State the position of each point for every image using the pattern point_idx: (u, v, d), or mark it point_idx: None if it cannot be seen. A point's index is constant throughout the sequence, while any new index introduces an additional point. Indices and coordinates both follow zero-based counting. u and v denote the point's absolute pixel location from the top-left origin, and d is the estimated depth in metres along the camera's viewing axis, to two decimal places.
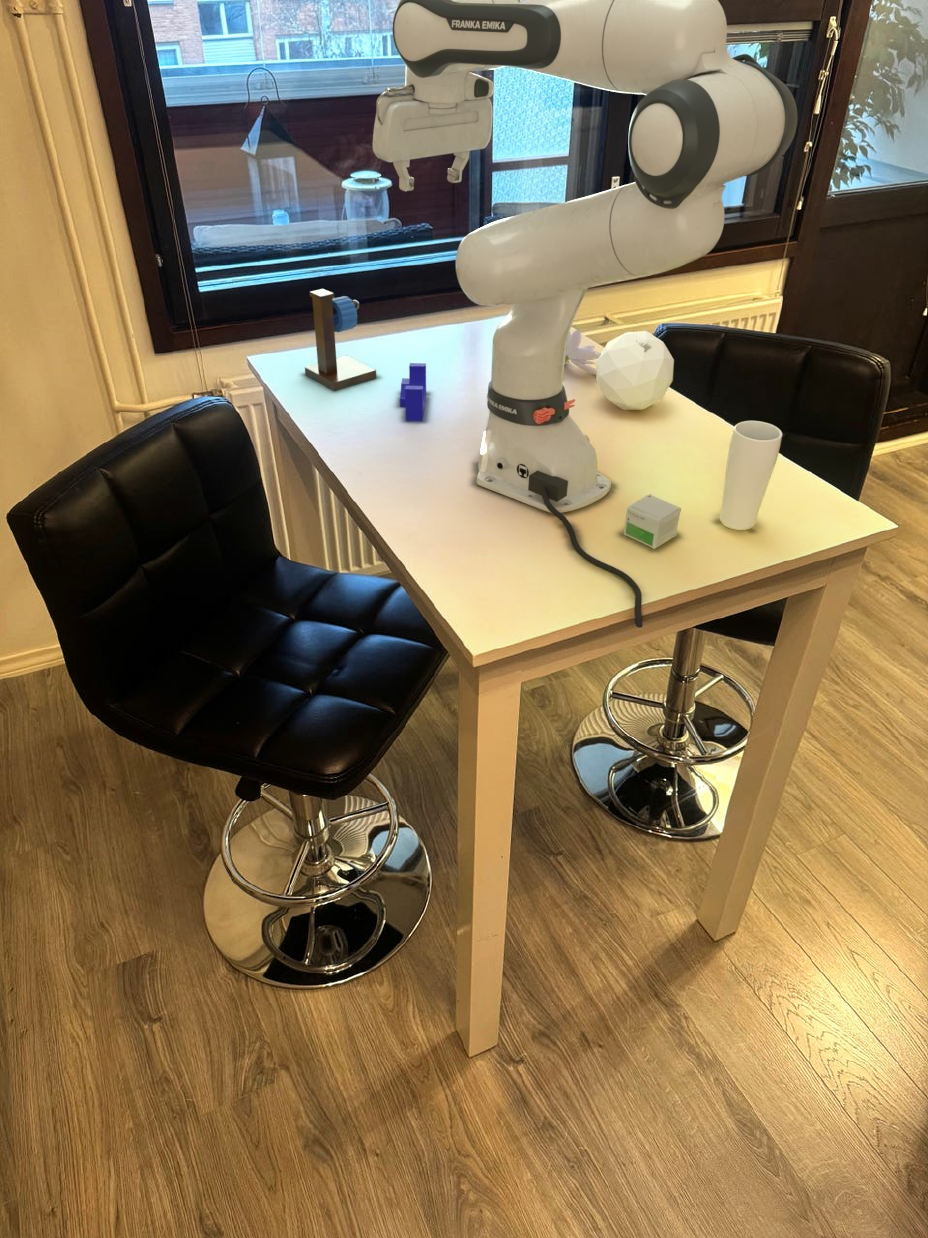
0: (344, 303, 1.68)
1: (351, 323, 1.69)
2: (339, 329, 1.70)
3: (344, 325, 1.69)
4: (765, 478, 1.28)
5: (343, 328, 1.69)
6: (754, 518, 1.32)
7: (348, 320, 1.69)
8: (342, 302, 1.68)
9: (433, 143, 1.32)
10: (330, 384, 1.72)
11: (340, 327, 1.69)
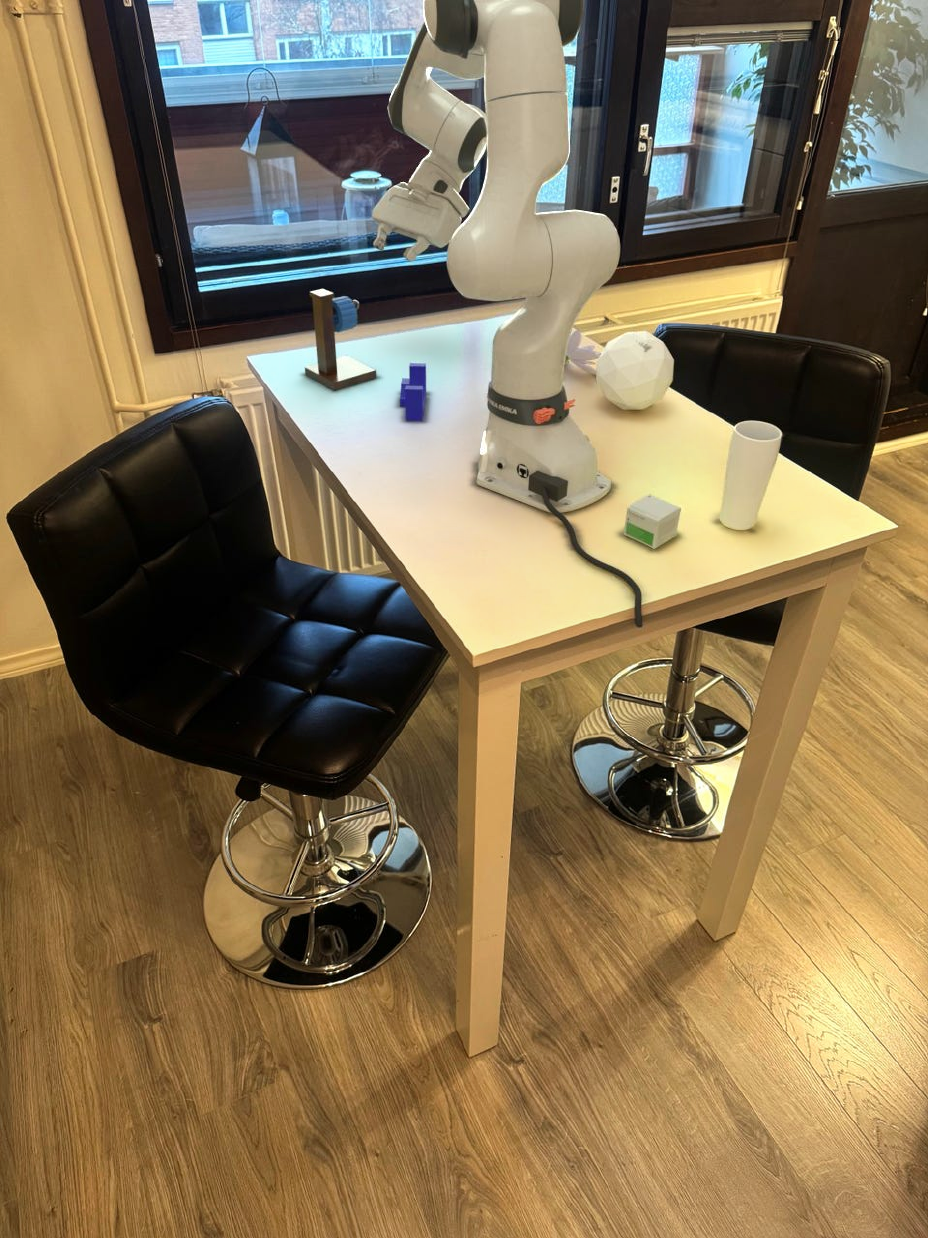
0: (344, 303, 1.68)
1: (351, 323, 1.69)
2: (339, 329, 1.70)
3: (344, 325, 1.69)
4: (765, 478, 1.28)
5: (343, 328, 1.69)
6: (754, 518, 1.32)
7: (348, 320, 1.69)
8: (342, 302, 1.68)
9: (400, 216, 1.70)
10: (330, 384, 1.72)
11: (340, 327, 1.69)
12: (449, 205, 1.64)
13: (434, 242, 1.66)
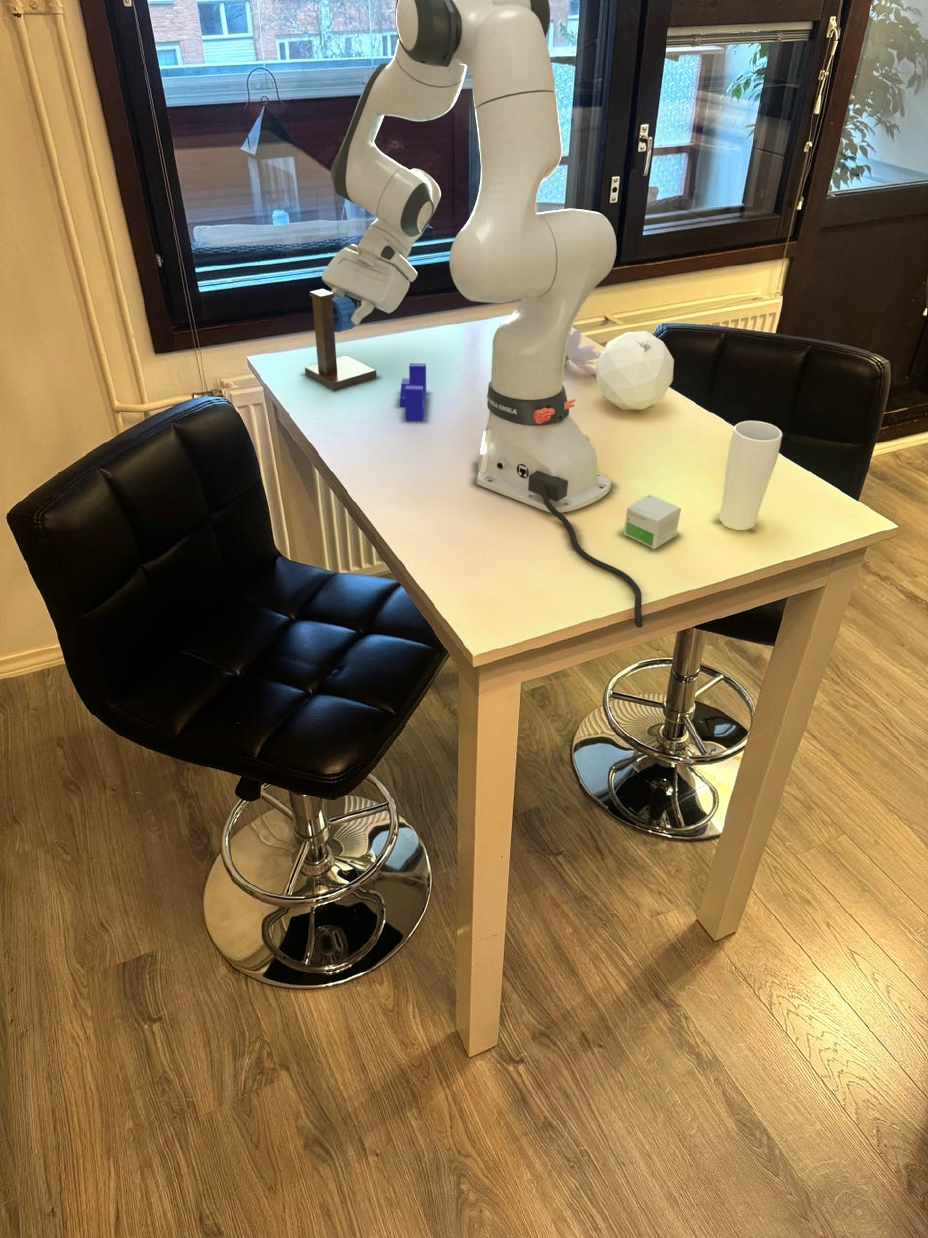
0: (344, 303, 1.68)
1: (351, 323, 1.69)
2: (339, 329, 1.70)
3: (344, 325, 1.69)
4: (765, 478, 1.28)
5: (343, 328, 1.69)
6: (754, 518, 1.32)
7: (348, 320, 1.69)
8: (342, 302, 1.68)
9: (349, 280, 1.70)
10: (330, 384, 1.72)
11: (340, 327, 1.69)
12: (396, 271, 1.63)
13: (382, 308, 1.65)
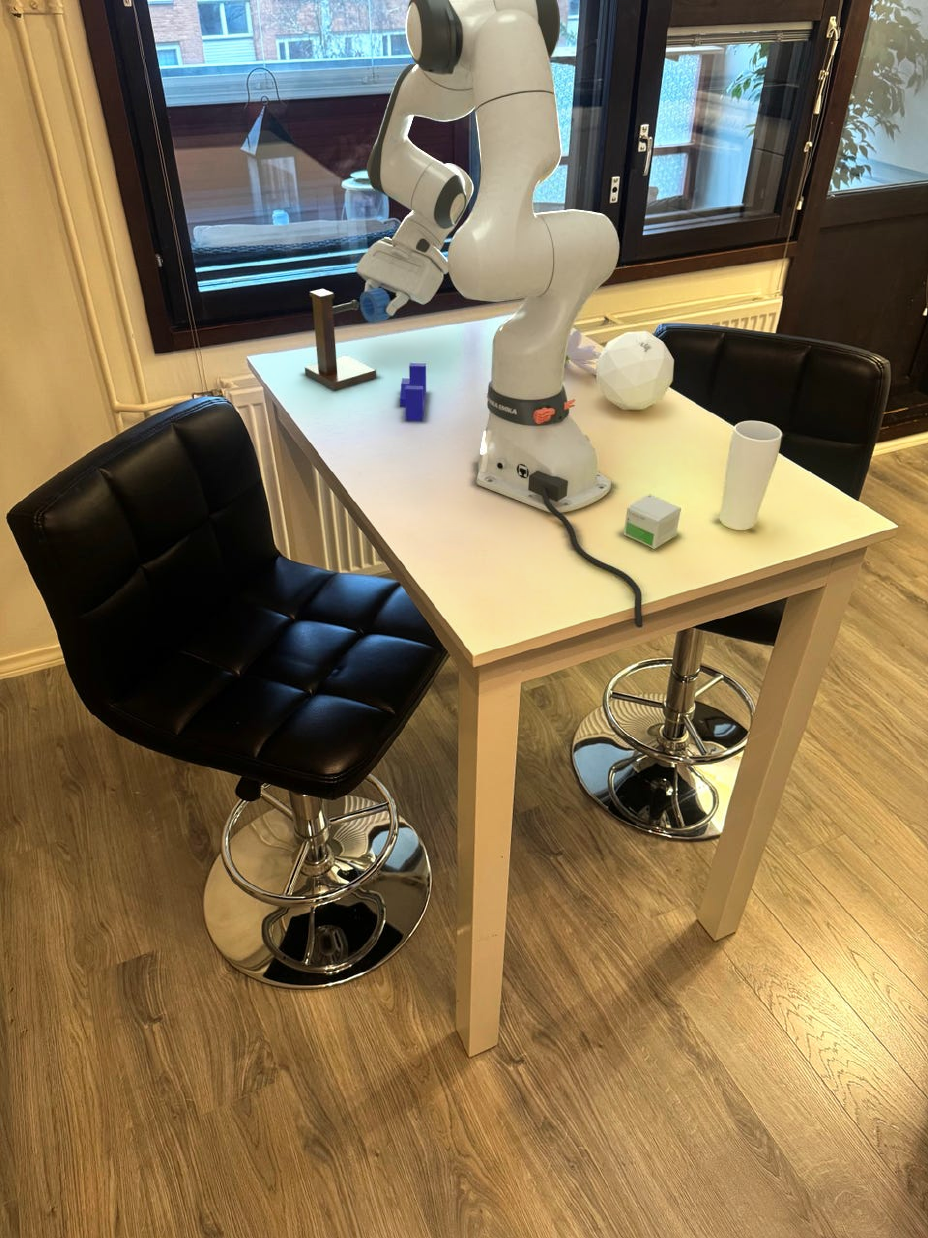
0: (379, 294, 1.72)
1: (386, 314, 1.74)
2: (374, 320, 1.74)
3: (379, 316, 1.73)
4: (765, 478, 1.28)
5: (378, 319, 1.74)
6: (754, 518, 1.32)
7: (383, 311, 1.73)
8: (378, 294, 1.72)
9: (384, 272, 1.74)
10: (330, 384, 1.72)
11: (375, 318, 1.74)
12: (431, 264, 1.68)
13: (416, 299, 1.70)
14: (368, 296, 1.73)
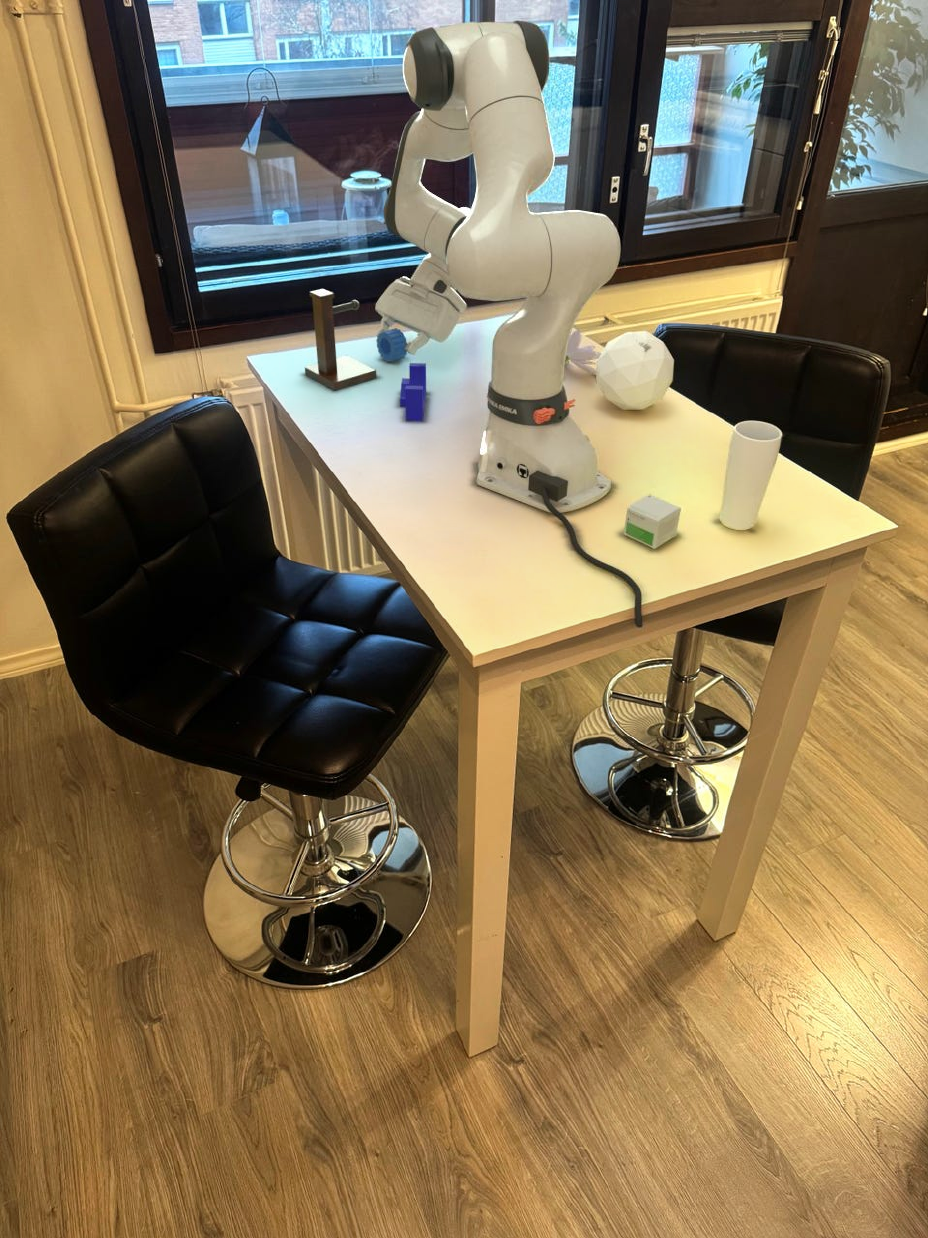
0: (394, 333, 1.80)
1: (402, 350, 1.81)
2: (392, 357, 1.82)
3: (396, 353, 1.81)
4: (765, 478, 1.28)
5: (395, 356, 1.81)
6: (754, 518, 1.32)
7: (399, 348, 1.81)
8: (392, 332, 1.80)
9: (402, 311, 1.81)
10: (330, 384, 1.72)
11: (392, 355, 1.81)
12: (448, 304, 1.75)
13: (434, 338, 1.77)
14: (384, 336, 1.81)
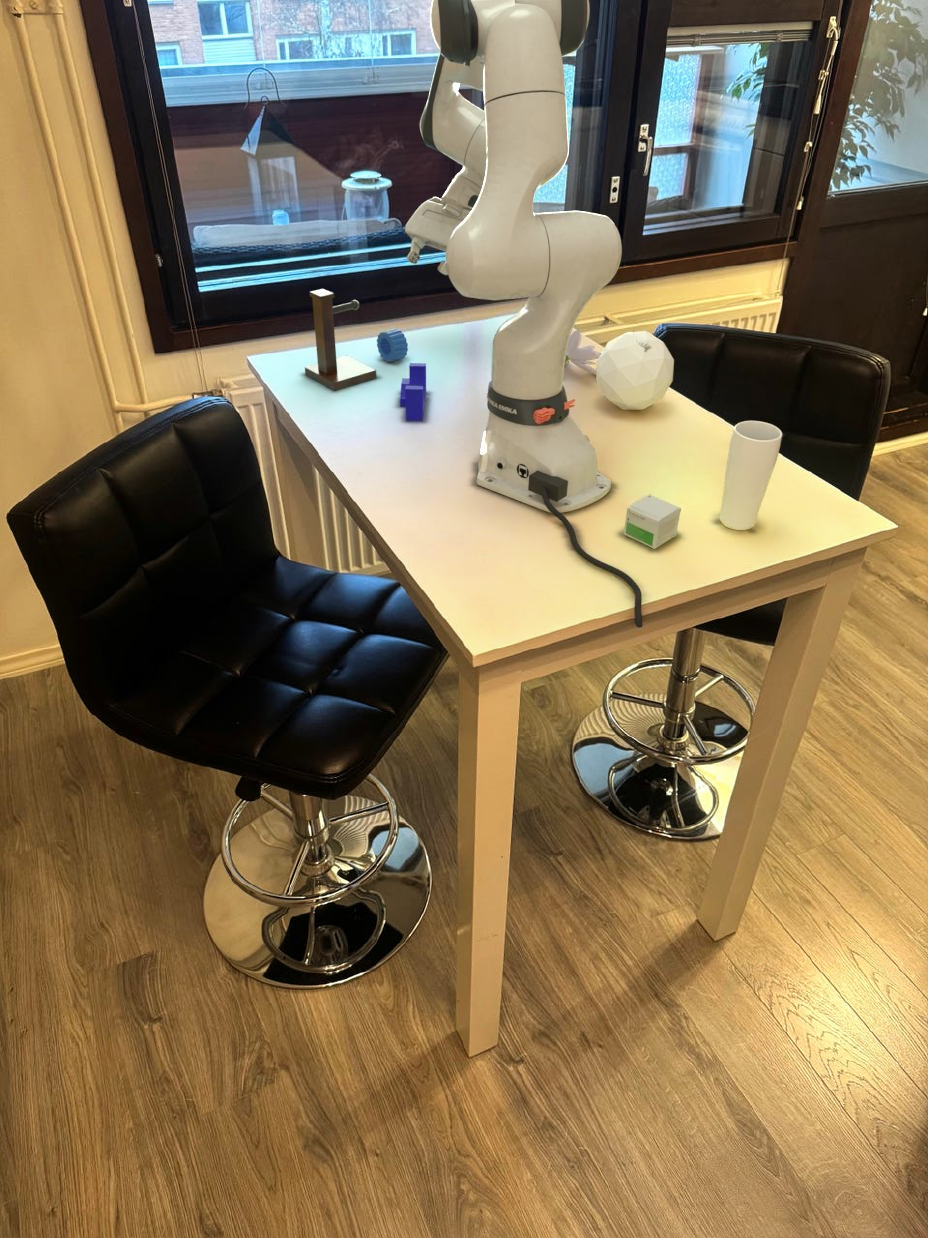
0: (394, 333, 1.80)
1: (402, 351, 1.81)
2: (392, 358, 1.82)
3: (396, 353, 1.81)
4: (765, 478, 1.28)
5: (395, 356, 1.81)
6: (754, 518, 1.32)
7: (399, 348, 1.81)
8: (393, 333, 1.80)
9: (434, 230, 1.73)
10: (330, 384, 1.72)
11: (392, 356, 1.81)
12: None
13: None
14: (384, 336, 1.81)
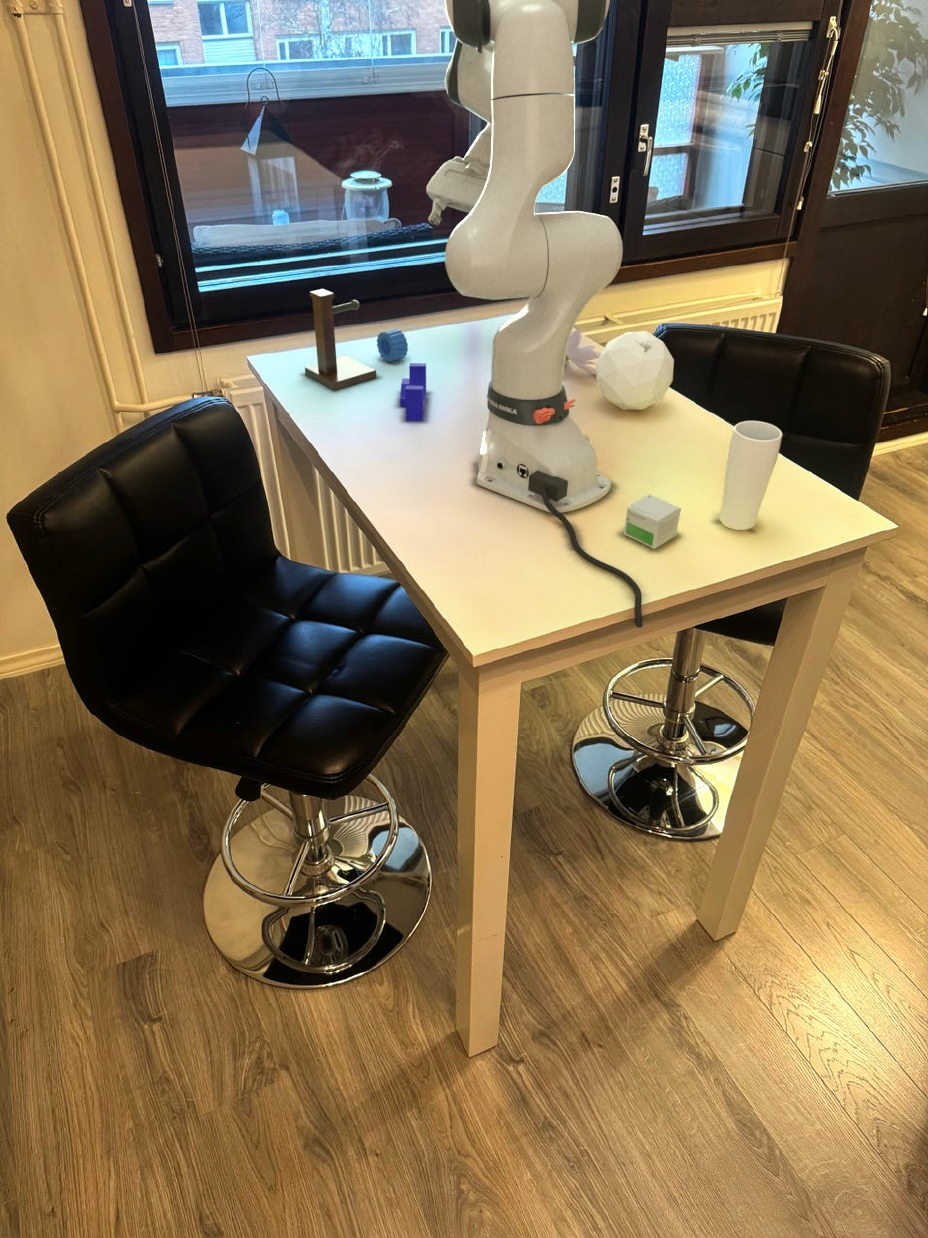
0: (394, 333, 1.80)
1: (402, 351, 1.81)
2: (392, 358, 1.82)
3: (396, 353, 1.81)
4: (765, 478, 1.28)
5: (395, 356, 1.81)
6: (754, 518, 1.32)
7: (399, 348, 1.81)
8: (393, 333, 1.80)
9: (456, 190, 1.69)
10: (330, 384, 1.72)
11: (392, 356, 1.81)
12: None
13: None
14: (384, 336, 1.81)
